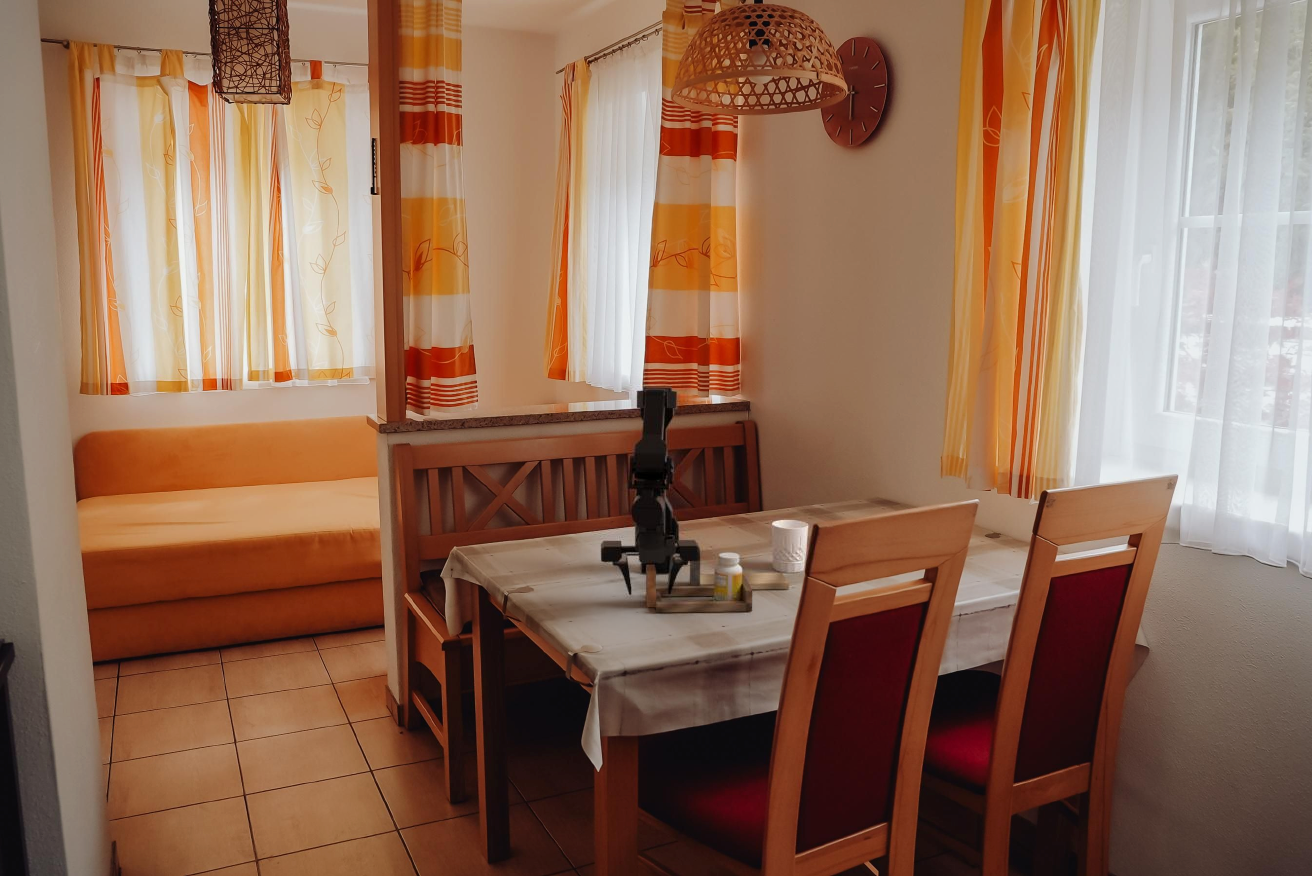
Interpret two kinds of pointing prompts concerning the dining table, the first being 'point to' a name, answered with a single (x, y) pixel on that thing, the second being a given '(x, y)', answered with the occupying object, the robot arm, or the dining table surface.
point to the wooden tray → (709, 606)
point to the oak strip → (753, 579)
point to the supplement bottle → (728, 578)
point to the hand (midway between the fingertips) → (649, 594)
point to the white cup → (789, 545)
